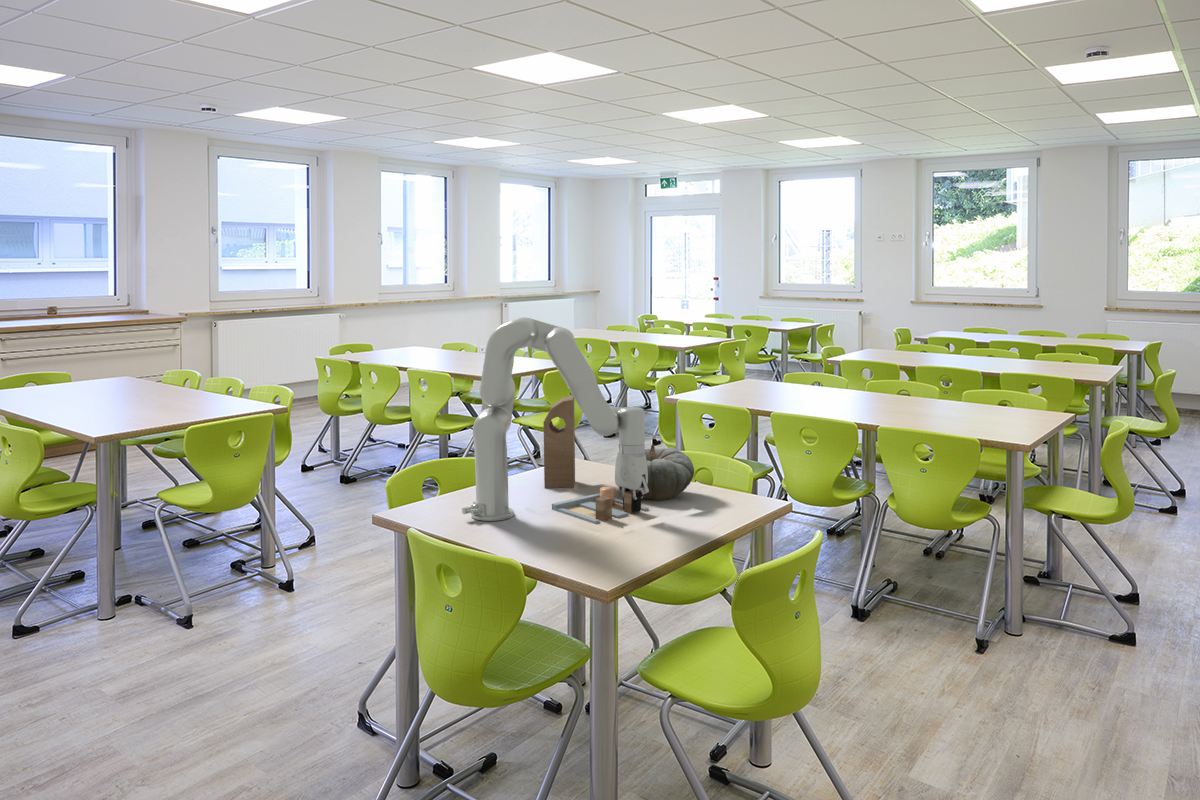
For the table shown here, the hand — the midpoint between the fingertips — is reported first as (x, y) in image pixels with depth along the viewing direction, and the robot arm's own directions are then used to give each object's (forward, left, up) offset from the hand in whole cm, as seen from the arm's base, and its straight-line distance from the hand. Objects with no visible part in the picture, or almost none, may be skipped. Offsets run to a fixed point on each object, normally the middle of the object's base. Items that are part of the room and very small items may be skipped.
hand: (631, 509), depth 251 cm
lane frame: (-5, +8, -2) cm, 10 cm away
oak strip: (0, +7, -2) cm, 7 cm away
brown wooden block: (-11, +2, -2) cm, 11 cm away
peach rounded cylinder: (0, +11, -1) cm, 11 cm away
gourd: (+21, +11, -2) cm, 24 cm away
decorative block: (+8, +44, -2) cm, 45 cm away
